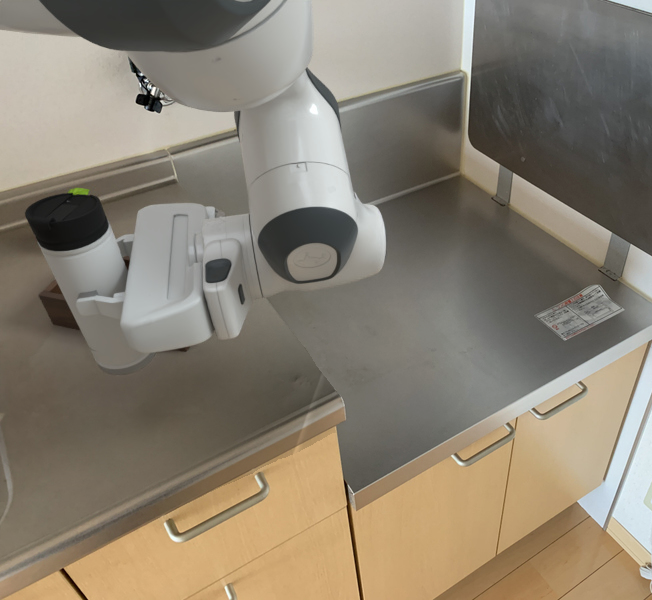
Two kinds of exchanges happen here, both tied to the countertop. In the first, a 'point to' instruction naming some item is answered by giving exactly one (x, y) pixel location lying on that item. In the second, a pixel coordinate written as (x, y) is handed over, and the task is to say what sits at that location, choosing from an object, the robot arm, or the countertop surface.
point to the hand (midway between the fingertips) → (84, 280)
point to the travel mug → (86, 271)
